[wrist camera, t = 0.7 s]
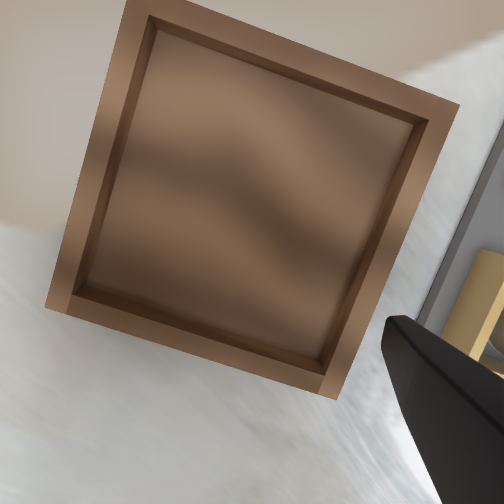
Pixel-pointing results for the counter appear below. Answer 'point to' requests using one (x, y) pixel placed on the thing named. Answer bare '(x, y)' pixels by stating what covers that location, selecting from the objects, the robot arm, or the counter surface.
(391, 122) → the tray
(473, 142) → the counter surface
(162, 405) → the counter surface
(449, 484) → the robot arm
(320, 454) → the counter surface
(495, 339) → the ball
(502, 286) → the block
